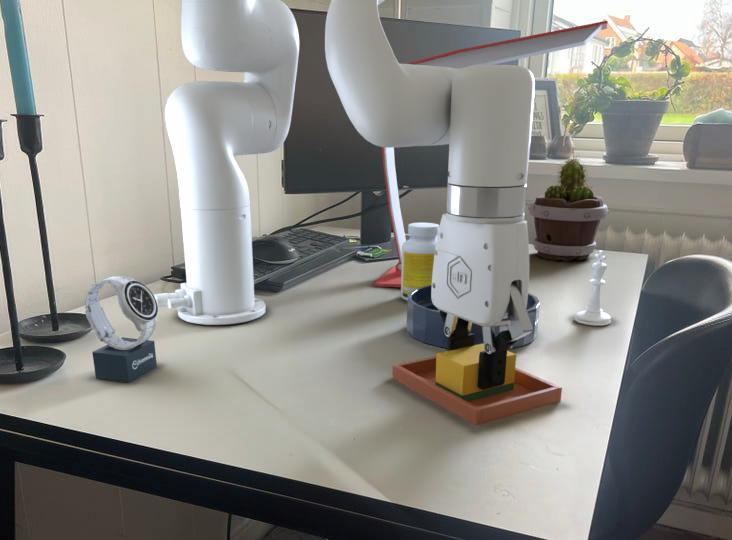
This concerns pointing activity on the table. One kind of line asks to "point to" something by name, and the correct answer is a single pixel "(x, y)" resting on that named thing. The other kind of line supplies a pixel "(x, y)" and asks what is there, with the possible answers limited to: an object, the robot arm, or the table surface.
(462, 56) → the desk lamp
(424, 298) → the bowl
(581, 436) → the table surface
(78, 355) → the table surface
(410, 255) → the pill bottle
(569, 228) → the flowerpot
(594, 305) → the chess piece
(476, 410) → the sponge dish
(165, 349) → the table surface
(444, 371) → the sponge
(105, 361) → the watch
